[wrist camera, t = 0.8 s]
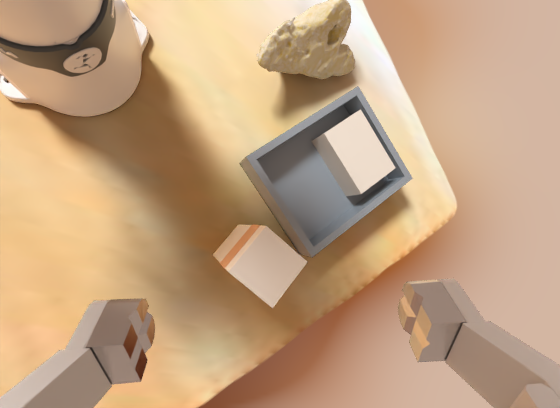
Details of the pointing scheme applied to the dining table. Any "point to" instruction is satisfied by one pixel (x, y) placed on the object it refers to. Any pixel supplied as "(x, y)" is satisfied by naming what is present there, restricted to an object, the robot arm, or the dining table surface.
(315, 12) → the beige rock
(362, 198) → the tote
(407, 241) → the dining table surface
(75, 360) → the robot arm
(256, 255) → the juice carton
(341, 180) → the white rectangular block
